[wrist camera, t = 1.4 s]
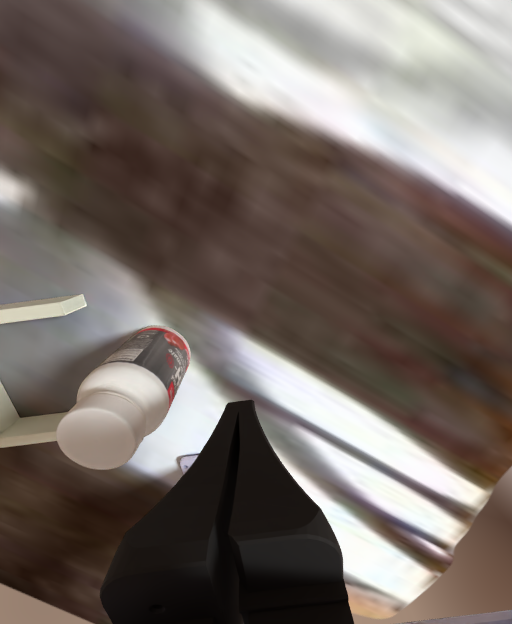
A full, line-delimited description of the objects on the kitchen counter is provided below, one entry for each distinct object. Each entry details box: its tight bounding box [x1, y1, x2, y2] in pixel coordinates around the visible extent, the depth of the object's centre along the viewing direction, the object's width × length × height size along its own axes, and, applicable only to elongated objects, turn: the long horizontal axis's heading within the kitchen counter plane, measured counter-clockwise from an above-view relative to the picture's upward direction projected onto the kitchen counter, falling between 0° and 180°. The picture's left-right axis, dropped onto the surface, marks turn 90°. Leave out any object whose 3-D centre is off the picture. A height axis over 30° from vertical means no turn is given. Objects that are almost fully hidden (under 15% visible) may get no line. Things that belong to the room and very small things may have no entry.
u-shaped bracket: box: [0, 294, 87, 448], centre depth 20 cm, size 12×11×2 cm
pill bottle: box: [56, 326, 191, 470], centre depth 17 cm, size 5×5×10 cm
